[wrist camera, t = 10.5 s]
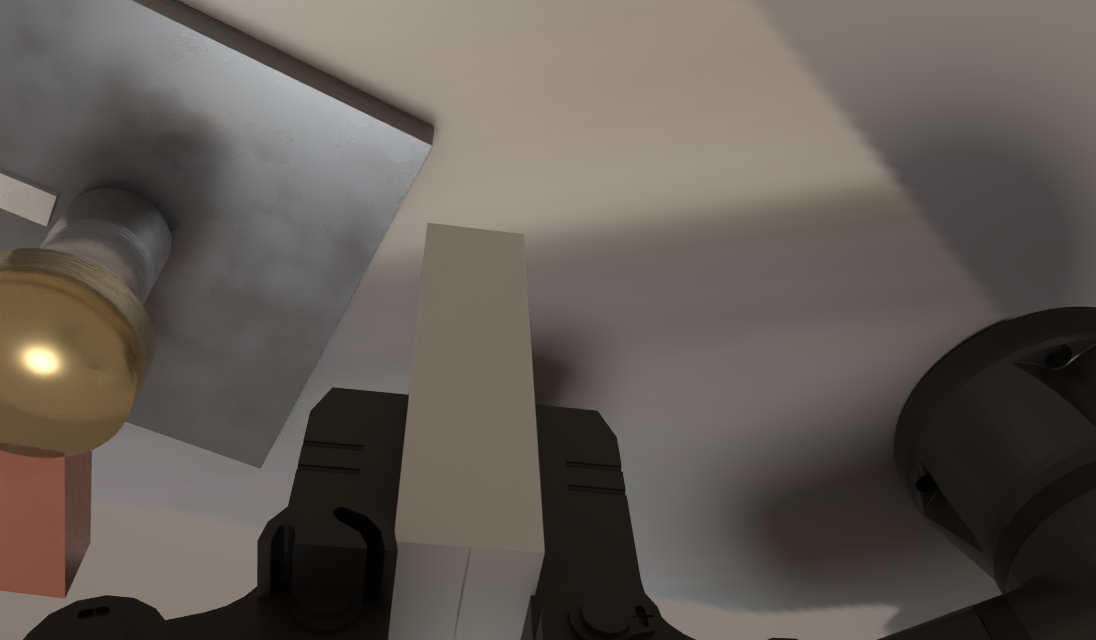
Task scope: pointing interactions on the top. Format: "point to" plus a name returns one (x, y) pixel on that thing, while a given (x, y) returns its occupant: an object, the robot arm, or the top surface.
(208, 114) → the grey plate with post
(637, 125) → the top surface
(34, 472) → the scoop with pink handle
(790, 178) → the top surface
